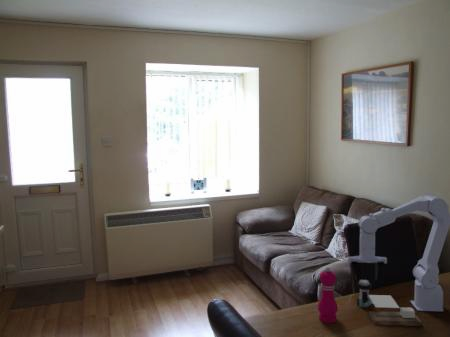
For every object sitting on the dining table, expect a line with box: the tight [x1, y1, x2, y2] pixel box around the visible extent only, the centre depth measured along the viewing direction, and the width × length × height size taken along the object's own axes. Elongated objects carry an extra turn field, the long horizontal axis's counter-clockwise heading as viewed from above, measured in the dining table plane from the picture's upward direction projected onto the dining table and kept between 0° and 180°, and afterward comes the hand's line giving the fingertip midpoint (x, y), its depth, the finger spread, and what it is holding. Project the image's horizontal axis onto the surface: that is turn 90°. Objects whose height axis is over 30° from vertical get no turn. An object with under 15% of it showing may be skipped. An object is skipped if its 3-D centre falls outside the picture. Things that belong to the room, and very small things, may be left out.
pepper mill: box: [317, 266, 339, 324], centre depth 140 cm, size 7×7×20 cm
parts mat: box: [369, 294, 400, 309], centre depth 153 cm, size 9×11×1 cm
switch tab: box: [399, 306, 416, 318], centre depth 138 cm, size 4×3×2 cm
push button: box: [356, 279, 373, 308], centre depth 150 cm, size 7×5×10 cm
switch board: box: [368, 310, 422, 327], centre depth 139 cm, size 16×7×2 cm, turn 84°
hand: (366, 280), depth 150 cm, fingers open, 7 cm apart
